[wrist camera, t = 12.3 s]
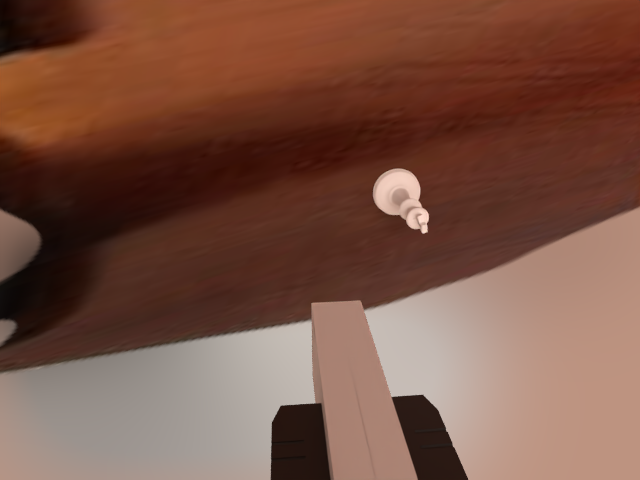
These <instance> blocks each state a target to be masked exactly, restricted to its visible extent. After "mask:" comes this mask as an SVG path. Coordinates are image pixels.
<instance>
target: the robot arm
mask: <svg viewBox="0 0 640 480" xmlns="http://www.w3.org/2000/svg"><path fill="white" fill-rule="evenodd" d="M311 305H312V362H313V382H314V392H315V401H316V403H315V404H300V405H285V406H281V407H280V408H279V410H278V412H277V414H276V416H275V418H274V420H273V422H272V446H271V480H468V478H467V476H466V473H465V471H464V469H463V466H462V464H461V462H460V460H459V457H458V455H457V453H456V450H455V448H454V447H453V445H452V441H451V439H450V437H449V434H448V432H446V427H445V425H444V423H443V421H442V418H441V416H440V414H439V411H438V410H437V409H436V408H435V407H434V406H433V405H432V404H431V403H430V402H429V401H428V400H427V399H426V398H425V397H424V396H423V395H413V396H398V397H391V395H390V391H389V388H388V385H387V382H386V379H385V376H384V373H383V369H382V366H381V363H380V360H379V357H378V354H377V351H376V347H375V344H374V341H373V338H372V335H371V332H370V329H369V326H368V322H367V319H366V316H365V313H364V310H363V307H362V304H361V301H342V302H322V303H311Z"/></svg>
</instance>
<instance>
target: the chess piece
mask: <svg viewBox="0 0 640 480" xmlns="http://www.w3.org/2000/svg"><path fill="white" fill-rule="evenodd" d="M419 197H420V185H419V182H418V180H417V178H416V177H415V176H414V175H413V174H412V173H411V172H409V171H407V170H405V169H392V170H389V171H387V172H385V173H384V174H382V175H381V176H380V177H379V178H378V180H377V181H376V183H375V185H374V188H373V198H374V201H375V204H376V205H377V206H378V208H379V209H381V210H382V211H383V212H385V213H387V214H390V215H400V216H401V217H402V218H403V219H405V220H406V222H407V224H408V226H409V227H411V228H413V229H421V232H422V233H426V232H427V229H428V227H427V222H428V220H429V215H428V212H427V211H426V210H425V209H423V208H422V207H421V204H420V202H419V201H418V200H419Z"/></svg>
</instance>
